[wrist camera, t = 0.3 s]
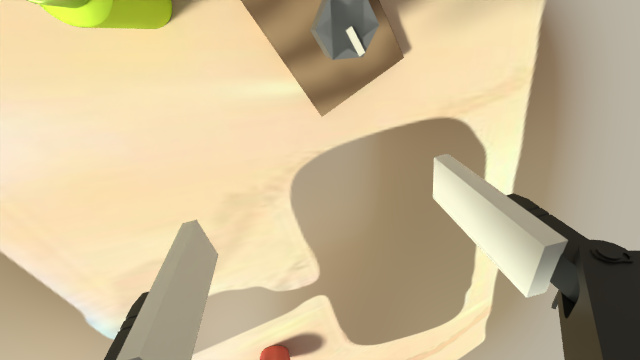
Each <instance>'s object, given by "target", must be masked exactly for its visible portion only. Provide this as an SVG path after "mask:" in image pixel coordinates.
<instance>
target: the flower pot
mask: <svg viewBox="0 0 640 360" xmlns="http://www.w3.org/2000/svg"><path fill="white" fill-rule="evenodd" d="M260 360H290V356H289V352H288V349H287V348H286V347H282V346H271V347H268V348H266V349H264V350H263V351H262V353H261V356H260Z"/></svg>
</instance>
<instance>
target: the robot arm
mask: <svg viewBox="0 0 640 360" xmlns="http://www.w3.org/2000/svg"><path fill="white" fill-rule="evenodd" d="M433 198H434V199H435V200H436V202H437V203H439V205H440V206H441V207H442V208H443V209H444V210H445V211H446V212H447V213H448V214H449V215H450V216H451V218H452V219H453V220H454V221H455V222H456V223H457V224H458V225H459V226H460V227H461V228H462V229H463V230H464V231H465V233H466V234H467V235H468V236H469V237H470V238H471V239H472V240H473V241H474V242H475V243H476V244H477V245H478V246H479V248H480V249H481V250H482V251H483V252H484V253H485V254H486V255H487V256H488V257H489V258H490V259H491V260H492V261H493V263H494V264H495V265H496V266H497V267H498V268H499V269H500V270H501V271H502V272H503V273H504V274H505V275H506V276H507V277H508V278H509V280H510V281H512V283H513V284H514V285H515V286H516V287H517V288H518V289H519V290H520V291H521V292H522V293H523V295H524V296H525V297H530V296H534V295H538V294H541V293H545V292H546V291H547V288H548V286H549V284H550V282H551V283H552V284H553V285H554V286H555V287H557V288H558V289H559V290H558V292H557V294H556V297H555V299H554V301H553V303H552V308H553V309H556V307H557V305H558V308H559V317H560V325H561V333H562V342H563V350H564V357H565V360H640V251H628V250H626V249H625V248H622V247H620V246H618V245H616V244H614V243H609V242H606V241H601V240H589V239H587V238H585V237H584V236H582V235H581V234H579V233H578V232H576V231H575V230H573V229H572V228H570V227H569V226H567V225H566V224H565V223H563V222H562V221H560V220H558V219H557V218H556V217H554V216H553V215H549V213H548V212H547V211H545V210H544V209H542V208H539V206H538V205H536V204H534V203H533V202H532V201H530V200H529V199H527V198H524V197H521V196H519V195H516V194H510V195H504V194H503V193H502V192H500V191H499V190H498V189H496V188H495V187H493V186H492V185H491V184H489V183H488V182H486V181H485V180H484V179H482V178H481V177H479V176H478V175H477V174H475V173H474V172H473V171H471V170H470V169H468V168H467V167H466V166H464V165H463V164H461V163H460V162H459V161H457V160H456V159H454V158H453V157H452V156H450V155H449V154H445V155H441V156H437V157H434V180H433ZM217 258H218V253H217V252H216V250H215V249H214V247H213V245H212V244H211V242H210V241H209V239H208V237H207V236H206V234H205V233H204V231H203V229H202V228H201V226H200V224H199V223H198V221H197V220H194V221H190V222H186V223H183V224H182V226H181V228H180V230H179V232H178V234H177V236H176V238H175V240H174V242H173V244H172V246H171V248H170V250H169V252H168V254H167V256H166V259H165V261H164V263H163V265H162V267H161V269H160V271H159V273H158V275H157V277H156V279H155V281H154V283H153V285H152V287H151V289H150V291H149V292H146V293H143V294H142V295H141V296H140V297H139V298H138V299H137V301H136V302H135V303H134V304H133V305H132V307H131V309H130V311H129V313H128V315H127V317H126V321H124V322H123V324H122V326H121V328H120V331H119V332H118V334H117V336H116V338H115V340H114V342H113V343H112V345H111V347H110V349H109V351H108V353H107V355H106V357H105V359H104V360H191V358H192V354H193V350H194V347H195V343H196V339H197V335H198V331H199V327H200V323H201V320H202V316H203V312H204V308H205V304H206V300H207V297H208V293H209V289H210V285H211V281H212V277H213V273H214V270H215V266H216V262H217Z"/></svg>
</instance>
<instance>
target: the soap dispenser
mask: <svg viewBox="0 0 640 360" xmlns="http://www.w3.org/2000/svg"><path fill="white" fill-rule="evenodd" d="M27 1H30V2H32V3H35V4H39V5H40V6H41V7H42V8H44V9H45V10H46V11H47V12H48V13H50V14H51V15H52V16H54V17H55V18H57V19H59V20H61V21H63V22H65V23H67V24H70V25H73V26H77V27H86V28H135V29H157V28H160V27H163V26H164V25H165V24H167V22H168V21H169V19H170V17H171V14H172V2H171V0H27Z"/></svg>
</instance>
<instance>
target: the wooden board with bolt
mask: <svg viewBox="0 0 640 360" xmlns="http://www.w3.org/2000/svg"><path fill="white" fill-rule="evenodd" d="M241 1H242V3H243V4H244V6H245V7H246V8H247V10H248V11H249V13H250V14H251V16H252V17H253V19H254V20H255V21H256V23H257V24H258V26H259V27H260V29H261V30H262V31H263V33H264V34H265V36H266V37H267V39H268V40H269V42H270V43H271V44H272V46H273V47H274V49H275V50H276V52H277V53H278V54H279V56H280V57H281V59H282V60H283V62H284V63H285V64H286V66H287V67H288V69H289V70H290V72H291V73H292V75H293V76H294V77H295V79H296V80H297V82H298V83H299V85H300V86H301V87H302V89H303V90H304V92H305V93H306V95H307V96H308V98H309V99H310V100H311V102H312V103H313V105H314V106H315V108H316V109H317V110H318V112H319V113H320V115H321V116H324V115H325V114H327V113H328V112H329V111H331V110H332V109H333V108H335V107H336V106H338V105H339V104H340V103H342V102H343V101H345V100H346V99H347V98H349V97H350V96H352V95H353V94H354V93H356V92H357V91H358V90H360V89H361V88H363V87H364V86H365V85H367V84H368V83H370V82H371V81H372V80H374V79H375V78H377V77H378V76H379V75H381V74H382V73H383V72H385V71H386V70H388V69H389V68H390V67H392V66H393V65H395V64H396V63H397V62H399V61H400V60H402V59H403V58H404V57H403V55H402V52H401V50H400V48H399V45H398V43H397V41H396V38H395V36H394V34H393V32H392V29H391V27H390V25H389V22H388V20H387V18H386V16H385V13H384V11H383V9H382V6H381V4H380V2H379V0H368V1H369V3H370V5H371V8H372V10H373V12H374V14H375V16H376V19H377V21H378V23H379V26H378V28H377V30H376V32H375V34H374V36H373V38H372V40H371V42H370V44H369V46H368V48H367V50H366V52H365V54H364V56H363V57H358V58H348V59H338V60H332V59H330V58H328V57H326V56H325V54H324V53H323V51H322V49H321V48H320V46H319V44H318V43H317V41H316V39H315V38H314V36H313V34H312V33H311V31H310V29H311V27H312V24H313V21H314V19H315V16H316V14H317V11H318V9H319V6H320V4H321V1H322V0H241Z"/></svg>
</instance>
